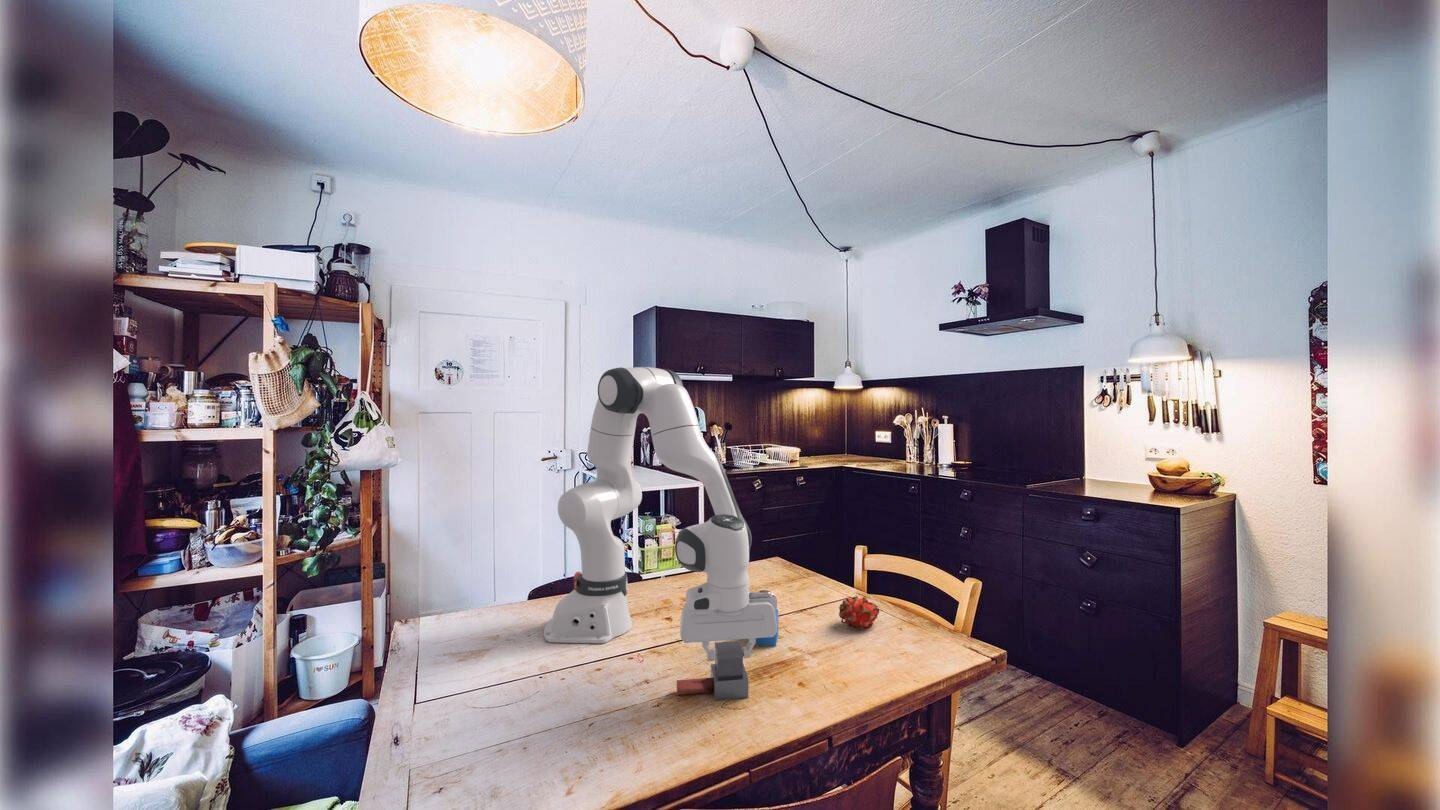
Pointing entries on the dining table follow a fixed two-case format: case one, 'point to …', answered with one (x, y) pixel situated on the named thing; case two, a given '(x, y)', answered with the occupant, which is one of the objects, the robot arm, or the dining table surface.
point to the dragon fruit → (858, 612)
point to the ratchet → (716, 686)
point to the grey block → (728, 659)
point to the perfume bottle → (769, 640)
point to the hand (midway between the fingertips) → (728, 658)
